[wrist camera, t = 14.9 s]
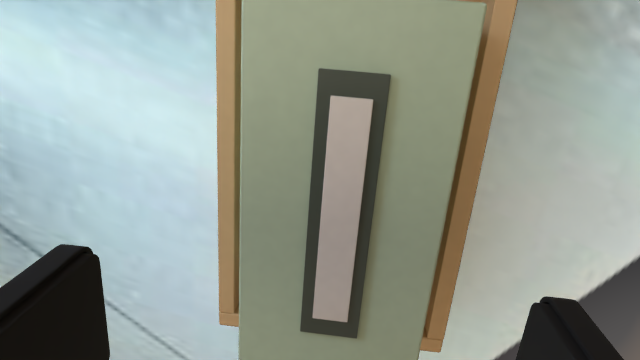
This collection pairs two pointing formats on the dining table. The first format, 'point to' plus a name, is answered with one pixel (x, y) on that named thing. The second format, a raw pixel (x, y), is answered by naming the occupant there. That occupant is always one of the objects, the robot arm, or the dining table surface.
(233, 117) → the tray
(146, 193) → the dining table surface
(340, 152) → the tissue box
